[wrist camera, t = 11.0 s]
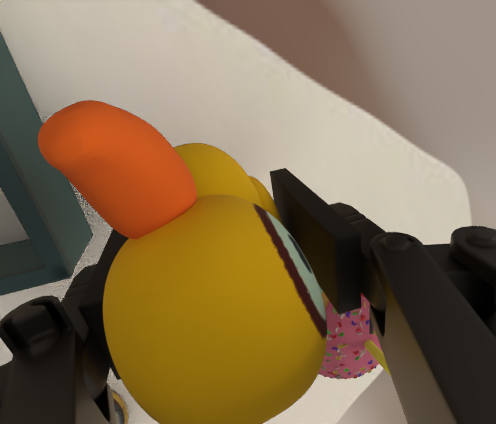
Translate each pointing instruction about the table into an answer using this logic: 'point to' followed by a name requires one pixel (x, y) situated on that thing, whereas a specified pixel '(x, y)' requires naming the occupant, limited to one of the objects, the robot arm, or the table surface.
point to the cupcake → (350, 343)
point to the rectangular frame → (34, 194)
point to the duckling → (192, 272)
